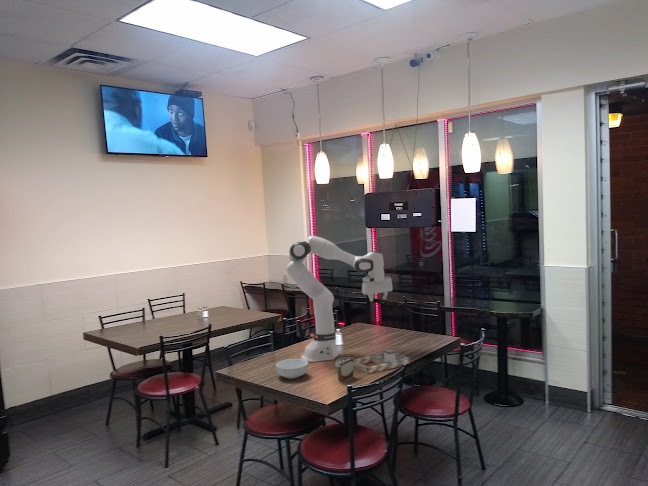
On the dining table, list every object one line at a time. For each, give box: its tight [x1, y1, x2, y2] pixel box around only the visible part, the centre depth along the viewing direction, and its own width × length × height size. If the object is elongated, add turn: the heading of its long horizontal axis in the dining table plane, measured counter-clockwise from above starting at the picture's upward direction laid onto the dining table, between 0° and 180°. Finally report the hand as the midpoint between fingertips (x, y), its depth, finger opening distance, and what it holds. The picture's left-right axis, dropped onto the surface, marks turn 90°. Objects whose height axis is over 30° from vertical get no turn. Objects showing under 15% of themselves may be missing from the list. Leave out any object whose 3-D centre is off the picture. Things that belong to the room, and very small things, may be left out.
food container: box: [334, 356, 355, 383], centre depth 247 cm, size 12×6×10 cm, turn 141°
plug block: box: [383, 348, 396, 362], centre depth 270 cm, size 4×5×7 cm
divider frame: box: [354, 352, 410, 374], centre depth 267 cm, size 27×17×4 cm, turn 117°
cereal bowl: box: [275, 358, 309, 380], centre depth 255 cm, size 17×17×7 cm
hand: (378, 300), depth 294 cm, fingers open, 8 cm apart
